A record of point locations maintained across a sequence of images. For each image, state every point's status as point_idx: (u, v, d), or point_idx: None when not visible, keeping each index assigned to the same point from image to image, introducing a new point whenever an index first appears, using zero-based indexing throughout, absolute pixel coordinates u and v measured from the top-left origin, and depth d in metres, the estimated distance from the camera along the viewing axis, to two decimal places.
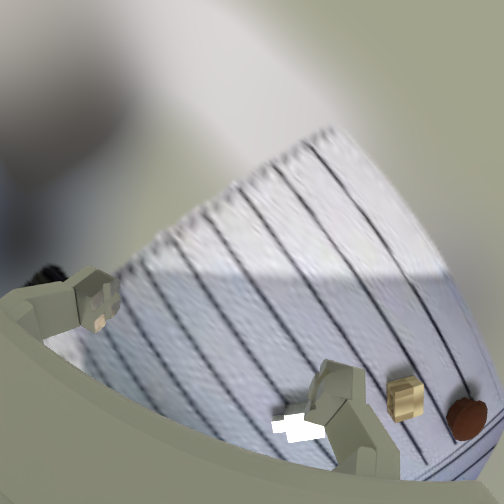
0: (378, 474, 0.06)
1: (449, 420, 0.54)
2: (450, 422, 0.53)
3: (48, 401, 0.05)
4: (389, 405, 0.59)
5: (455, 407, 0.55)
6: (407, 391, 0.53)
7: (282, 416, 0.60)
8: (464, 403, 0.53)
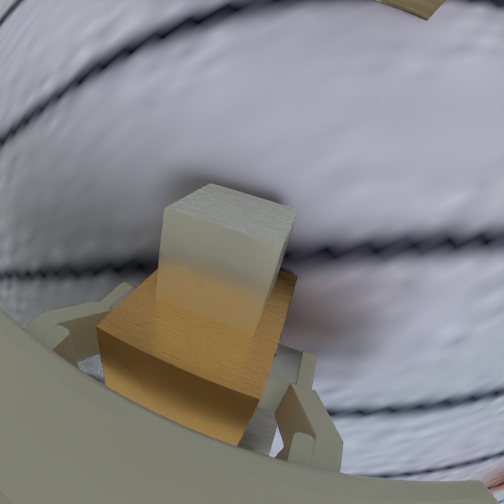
0: (314, 463, 0.06)
1: None
2: None
3: (48, 401, 0.05)
4: None
5: None
6: None
7: None
8: None
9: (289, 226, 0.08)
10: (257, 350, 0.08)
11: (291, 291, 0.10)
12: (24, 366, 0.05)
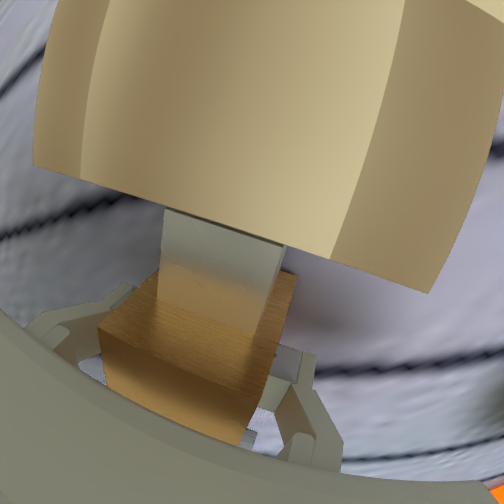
0: (314, 463, 0.06)
1: None
2: None
3: (48, 401, 0.05)
4: None
5: None
6: (65, 29, 0.04)
7: None
8: None
9: None
10: (257, 350, 0.08)
11: (291, 291, 0.10)
12: (24, 366, 0.05)
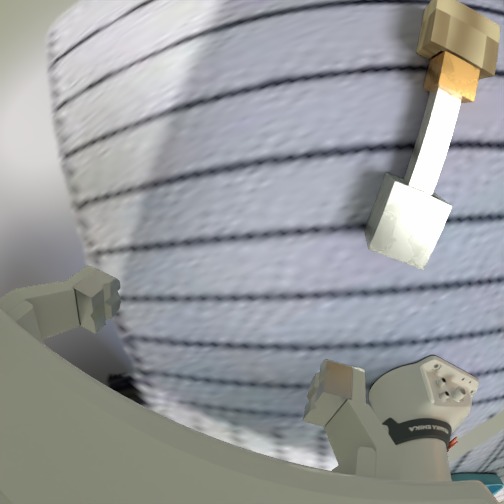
0: (378, 474, 0.06)
1: None
2: None
3: (48, 401, 0.05)
4: None
5: None
6: (439, 21, 0.19)
7: (409, 167, 0.30)
8: None
9: None
10: None
11: None
12: (24, 366, 0.05)
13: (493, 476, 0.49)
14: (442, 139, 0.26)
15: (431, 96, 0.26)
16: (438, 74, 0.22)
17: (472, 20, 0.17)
